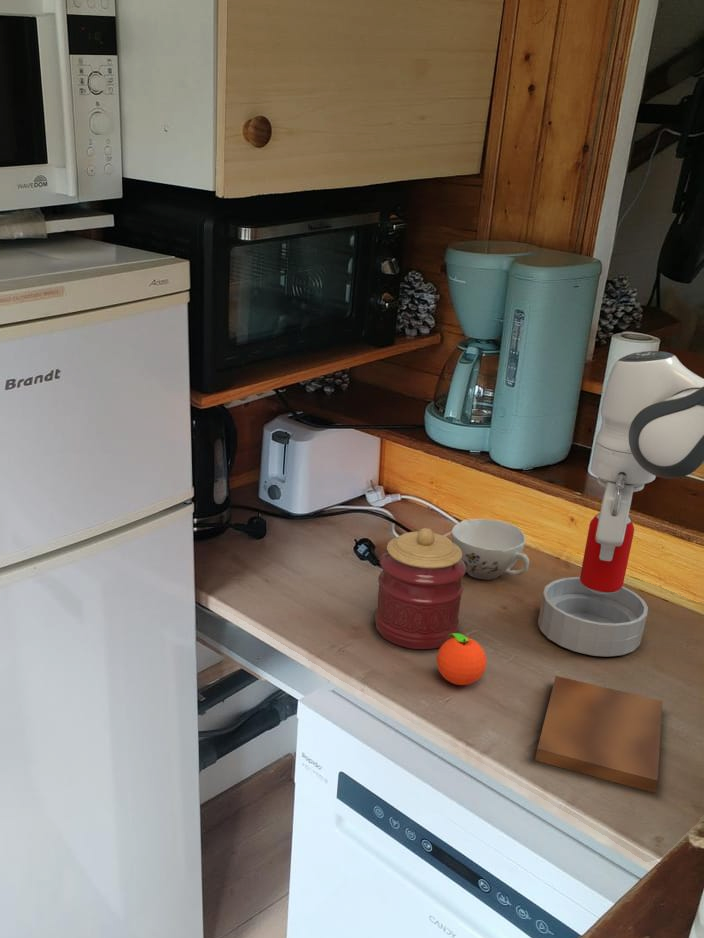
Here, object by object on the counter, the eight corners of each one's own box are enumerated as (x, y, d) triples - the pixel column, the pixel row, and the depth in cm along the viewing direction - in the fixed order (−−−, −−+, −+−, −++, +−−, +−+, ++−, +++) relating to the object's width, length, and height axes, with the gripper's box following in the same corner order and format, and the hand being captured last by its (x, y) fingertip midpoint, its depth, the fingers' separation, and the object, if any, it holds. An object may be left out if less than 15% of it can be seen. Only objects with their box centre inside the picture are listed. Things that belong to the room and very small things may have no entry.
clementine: (422, 667, 134) (427, 626, 131) (464, 660, 136) (470, 620, 133) (448, 698, 127) (454, 655, 124) (492, 690, 129) (499, 648, 126)
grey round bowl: (642, 621, 147) (649, 589, 144) (636, 668, 134) (645, 634, 132) (544, 601, 153) (550, 569, 150) (531, 644, 140) (537, 611, 138)
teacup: (432, 568, 163) (437, 528, 160) (478, 551, 170) (483, 512, 166) (499, 602, 152) (506, 559, 149) (545, 582, 159) (553, 541, 155)
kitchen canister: (357, 630, 144) (366, 529, 136) (402, 601, 152) (413, 504, 145) (429, 661, 136) (442, 556, 128) (472, 628, 144) (487, 528, 137)
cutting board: (659, 712, 125) (662, 700, 124) (654, 793, 110) (657, 780, 109) (553, 687, 130) (555, 675, 129) (534, 760, 115) (537, 748, 114)
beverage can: (620, 600, 136) (635, 528, 131) (576, 592, 138) (589, 520, 133) (622, 583, 141) (637, 512, 136) (580, 575, 143) (593, 506, 138)
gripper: (644, 490, 121) (625, 582, 127) (651, 445, 138) (634, 527, 144) (594, 483, 124) (578, 573, 130) (607, 439, 140) (591, 520, 146)
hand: (607, 548), depth 137 cm, fingers closed on beverage can, 6 cm apart
